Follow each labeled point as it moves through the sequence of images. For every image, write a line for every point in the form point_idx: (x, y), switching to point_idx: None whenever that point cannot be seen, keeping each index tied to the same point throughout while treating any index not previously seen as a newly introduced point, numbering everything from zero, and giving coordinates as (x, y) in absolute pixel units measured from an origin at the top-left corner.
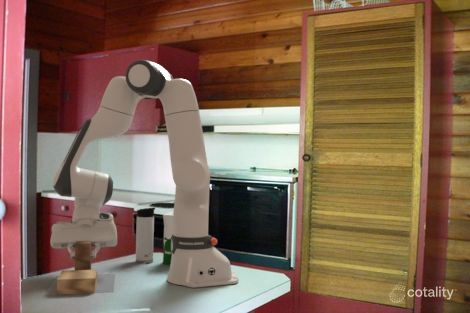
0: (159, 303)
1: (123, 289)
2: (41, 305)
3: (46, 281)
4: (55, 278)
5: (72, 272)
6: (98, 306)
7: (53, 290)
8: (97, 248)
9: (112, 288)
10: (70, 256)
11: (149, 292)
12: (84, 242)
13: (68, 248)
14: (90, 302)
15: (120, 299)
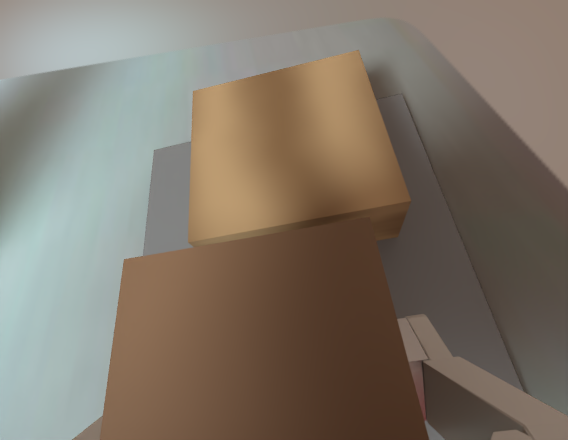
0: (49, 98)
1: (118, 211)
2: (369, 37)
3: (553, 347)
4: (507, 370)
5: (324, 164)
6: (202, 57)
7: (392, 141)
8: (91, 425)
9: (154, 187)
10: (421, 316)
11: (42, 184)
12: (220, 320)
13: (529, 398)
14: (226, 78)
15: (140, 112)
